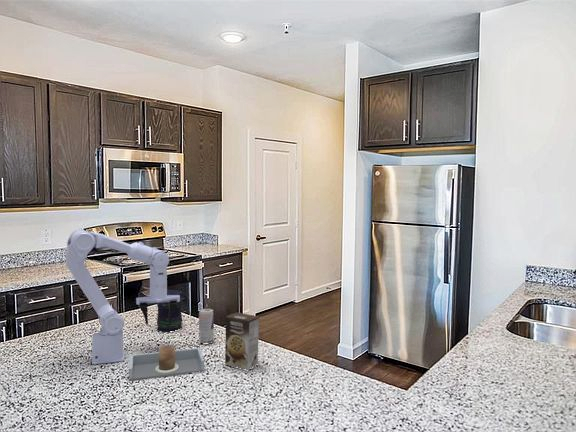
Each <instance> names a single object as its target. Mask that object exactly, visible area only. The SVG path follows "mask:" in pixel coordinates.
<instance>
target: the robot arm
mask: <svg viewBox="0 0 576 432" xmlns="http://www.w3.org/2000/svg"><path fill="white" fill-rule="evenodd" d="M103 247H104V248H105V247H106V248H109V249H113V250H115V251H118V252H122V253H125V254H127V256H128V258H129V259H130V260H134V261H138V262H139V263H140V262H141V263H143V264H146V265H148V264H149V296H143V297H136V298H135V300H136V301H135V303H136V305H139V309H140V311H141V312H142V315H143V317H144V321H145V325H147V326H148V325H149V317H148V304H157V303H160V302H169V323H171V319H172V315H173V312H174V310H175V308H176V305H177V302H180V295H167V290H168V280H167V279H168V269H167V268H168V265H169V264H170V259H169V255H168V254H167V253H166V252H165V251H162V250H160V249H158V248H157V247H155V246H153V247H150V246H148V245H146V244H145V243H144V242H142V241H139V242H137V241H136V242H133V243H131V244H130V243H127V242H124V241H122V240H119V239H116V238H114V237H111V236H109V235H107V234H106V235H105V234H103V233H100V232H99V233H98V232H95V231H87V230H85V229H80V228H79V229H76V230H73V231H72V233H70V234H69V237H68V239H67V241H66V251H65V254H66V255H65V265H66V267H67V269H68V270H69V272H70V273H71V275H72V277H73V278H74V280H75V281H76V282H77V284H78V286H79V288H80V289H81V290H82V292H83V293H84V295H85V297H86V298H87V300H88V302H89V303H90V304H91V306H92V307H93V309H94V311H95V313H96V314H97V316H98V323H99V324H100V326H101V327H100V330H99V331H98V332H95V333H93V334H92V337H91V338H92V339H91V340H92V341H91V365H98V364H107V363H108V364H109V363H115V362H117V363H119V362H124V361H125V354H126V351H125V350H124V327H125V320H124V318H123V317H122V316H120V314H119V313H118V312H117V311H116V309H114V308H113V307H112V306H111V304H110V303H109V301H108V299H107V298H106V296H105V295H104V293H103V291H102V289H101V288H100V287H99V285H98V283H97V282H96V280H95V278H94V277H93V276H92V274H91V273H90V271H89V269H88V267H87V266H86V264H85V261H86V259H87V256H88V254H89V253H90V252H91V251H92V250H93V248H95V249H99V248H103Z"/></svg>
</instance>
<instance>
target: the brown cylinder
mask: <svg viewBox="0 0 576 432" xmlns="http://www.w3.org/2000/svg"><path fill="white" fill-rule="evenodd" d="M175 350H176V347H175V346H174V345H163V346H160V347H159V348H158V352H159V369H160V370H164V371H166V370H171V369H173V368H175Z"/></svg>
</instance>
